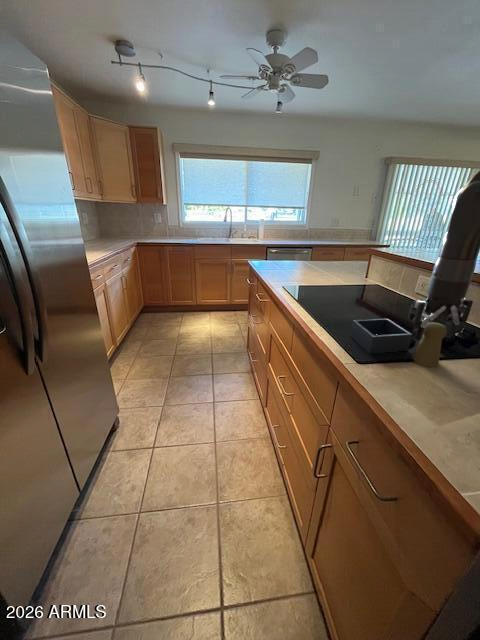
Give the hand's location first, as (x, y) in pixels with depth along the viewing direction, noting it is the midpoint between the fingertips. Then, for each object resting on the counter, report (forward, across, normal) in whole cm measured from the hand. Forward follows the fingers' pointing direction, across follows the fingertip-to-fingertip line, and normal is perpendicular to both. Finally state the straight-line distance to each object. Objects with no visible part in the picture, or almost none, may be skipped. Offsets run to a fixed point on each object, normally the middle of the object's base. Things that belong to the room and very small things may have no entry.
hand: (431, 337), depth 68 cm
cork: (+7, 0, 0) cm, 7 cm away
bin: (+7, -7, +11) cm, 15 cm away
